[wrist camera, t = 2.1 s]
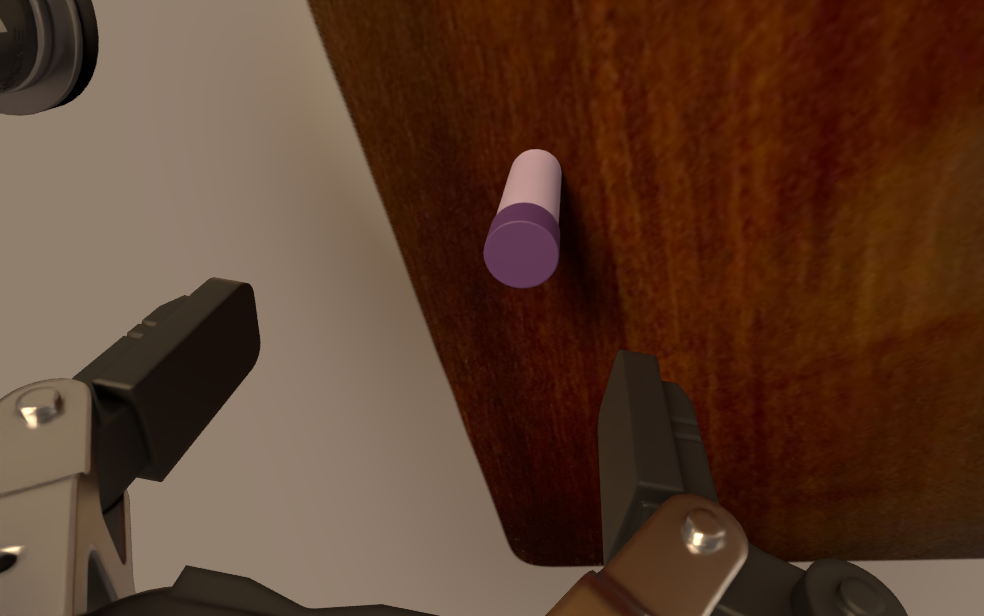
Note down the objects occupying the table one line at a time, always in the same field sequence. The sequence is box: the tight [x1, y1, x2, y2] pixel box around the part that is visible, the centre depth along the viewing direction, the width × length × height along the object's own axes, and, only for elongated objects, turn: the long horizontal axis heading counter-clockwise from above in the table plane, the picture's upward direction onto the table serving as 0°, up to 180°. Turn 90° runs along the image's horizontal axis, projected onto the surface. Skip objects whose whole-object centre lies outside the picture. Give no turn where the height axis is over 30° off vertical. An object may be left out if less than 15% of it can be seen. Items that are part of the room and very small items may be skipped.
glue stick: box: [484, 149, 562, 288], centre depth 26 cm, size 3×3×10 cm
